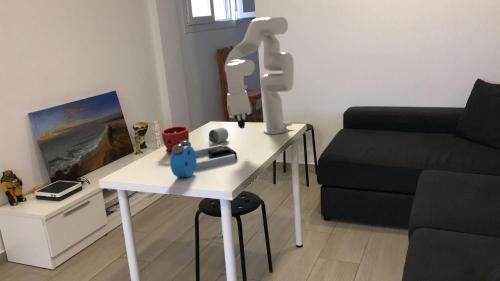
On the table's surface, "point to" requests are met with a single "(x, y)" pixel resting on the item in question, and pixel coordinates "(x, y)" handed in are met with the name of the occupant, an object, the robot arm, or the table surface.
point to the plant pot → (174, 137)
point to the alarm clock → (183, 159)
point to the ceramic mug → (218, 135)
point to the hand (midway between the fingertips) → (241, 127)
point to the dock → (212, 161)
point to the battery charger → (221, 152)
